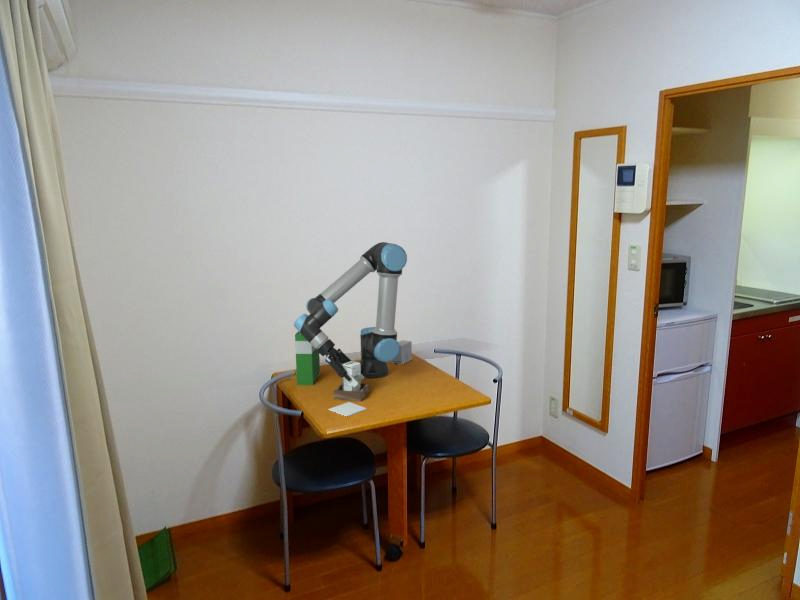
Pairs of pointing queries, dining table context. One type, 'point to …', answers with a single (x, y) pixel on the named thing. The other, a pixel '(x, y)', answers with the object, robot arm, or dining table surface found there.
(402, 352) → the skincare box
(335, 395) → the walnut crate
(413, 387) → the dining table surface
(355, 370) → the syrup box
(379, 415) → the dining table surface
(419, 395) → the dining table surface
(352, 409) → the grey mat
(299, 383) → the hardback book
